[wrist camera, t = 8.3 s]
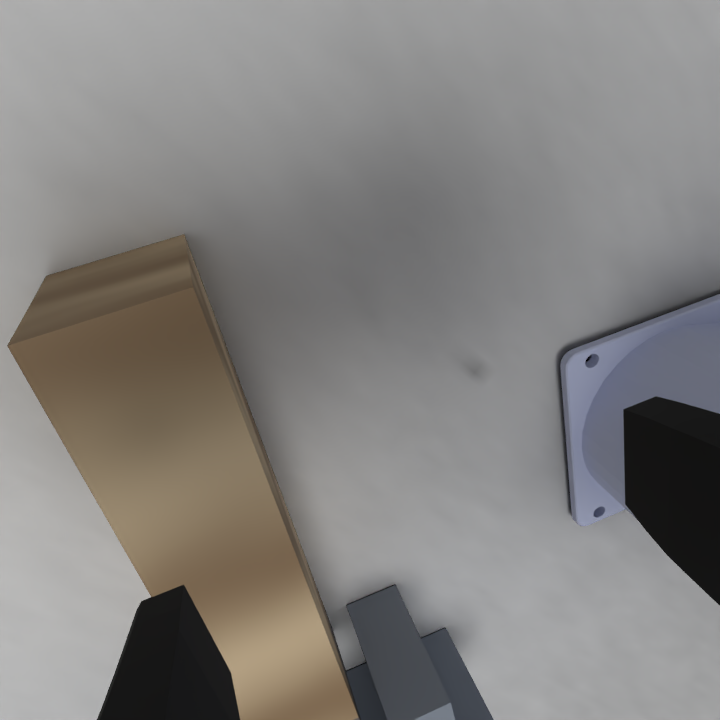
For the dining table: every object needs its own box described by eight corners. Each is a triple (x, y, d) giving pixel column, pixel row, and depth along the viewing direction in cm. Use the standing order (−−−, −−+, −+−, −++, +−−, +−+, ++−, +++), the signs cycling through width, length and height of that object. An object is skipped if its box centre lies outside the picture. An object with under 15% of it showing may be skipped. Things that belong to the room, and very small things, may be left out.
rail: (46, 275, 15) (7, 345, 11) (184, 234, 16) (193, 286, 12) (245, 668, 23) (263, 792, 19) (333, 631, 23) (368, 744, 19)
